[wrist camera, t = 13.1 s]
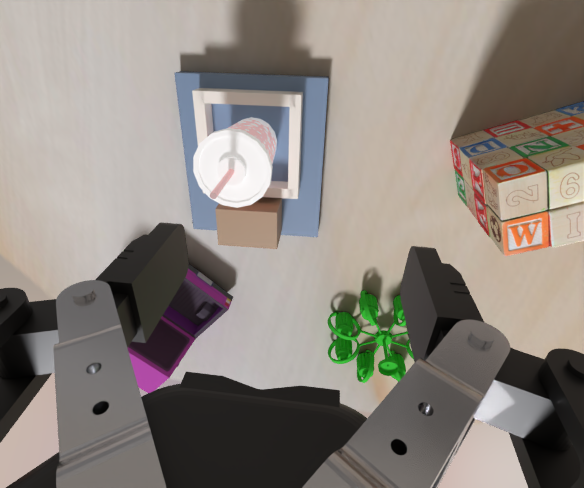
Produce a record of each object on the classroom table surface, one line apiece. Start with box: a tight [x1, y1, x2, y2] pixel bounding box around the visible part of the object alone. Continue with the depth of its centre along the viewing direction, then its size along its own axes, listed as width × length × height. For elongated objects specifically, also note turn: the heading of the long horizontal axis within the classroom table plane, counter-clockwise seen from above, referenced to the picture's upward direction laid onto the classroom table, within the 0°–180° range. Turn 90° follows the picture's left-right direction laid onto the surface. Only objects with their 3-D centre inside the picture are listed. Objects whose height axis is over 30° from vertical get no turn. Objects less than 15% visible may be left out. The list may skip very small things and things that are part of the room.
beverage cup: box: [193, 117, 277, 208], centre depth 30 cm, size 6×6×14 cm
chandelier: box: [328, 290, 414, 383], centre depth 45 cm, size 15×15×7 cm
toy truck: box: [128, 264, 233, 393], centre depth 45 cm, size 11×16×10 cm
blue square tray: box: [175, 71, 329, 249], centre depth 36 cm, size 16×14×6 cm
